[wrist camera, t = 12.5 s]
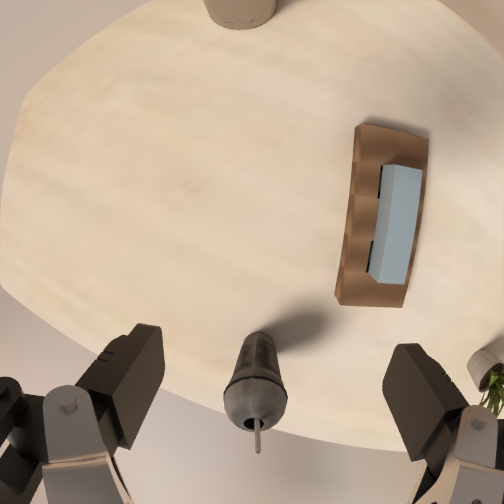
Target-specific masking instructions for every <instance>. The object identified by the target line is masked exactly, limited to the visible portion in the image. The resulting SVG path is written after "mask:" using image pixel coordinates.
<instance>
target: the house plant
mask: <svg viewBox="0 0 504 504" xmlns="http://www.w3.org/2000/svg"><path fill="white" fill-rule="evenodd" d="M467 369H468V371H469V373H470V375H471V377H472V379H473V381H474V383H475V385H476V387H477V389H478V391H479V392H484V393H485V392H486V391H488V390H489V393H488V396H487V398H486V399H485V400H484V401H483V402H482V400H483V397H484V394H483V397H482V400H481V402H480V404H479V406H483V405H484V404H485V403H486V402H487V400H488V399H489V396H490V399H489V403H488V406H487V409H489V408H490V409H489V410H490V411H492V408H494V411H493V414H494V415H495V417H496V419H497V416H498V415H499V414H500V412H501V410H502V407H503V405H504V387H503V386H502V384H503V385H504V362H503V361H501V360H500V359H498V358H497V357H495V356H493V355H492V354H490V353H489V352H487V351H486V350H478V351H477V352H475V353H474V354H473V355H472V356H471V358H470V359H469V361H468V364H467ZM494 393H495V394H494ZM500 399H501V400H502V402H503V403H502V406H501V409H500V411H499V413H498V410H499V403H500ZM493 404H494V407H493Z"/></svg>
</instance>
